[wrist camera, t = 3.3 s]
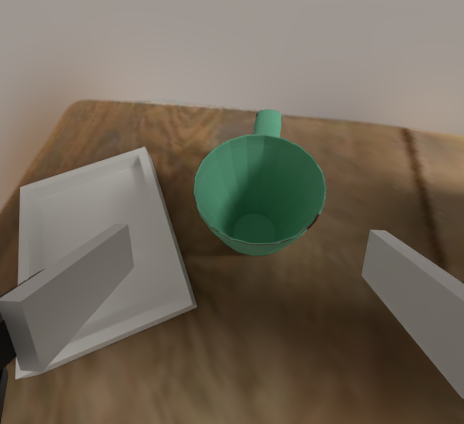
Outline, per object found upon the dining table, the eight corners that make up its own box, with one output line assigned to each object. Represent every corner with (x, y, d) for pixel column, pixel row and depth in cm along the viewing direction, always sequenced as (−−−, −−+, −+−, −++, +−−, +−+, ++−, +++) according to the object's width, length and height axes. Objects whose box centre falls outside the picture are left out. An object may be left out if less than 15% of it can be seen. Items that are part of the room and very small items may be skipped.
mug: (297, 285, 24) (328, 255, 15) (201, 270, 25) (177, 235, 16) (301, 167, 30) (325, 98, 21) (225, 160, 31) (218, 91, 23)
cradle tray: (151, 159, 32) (144, 146, 30) (197, 307, 23) (192, 304, 21) (36, 198, 30) (20, 187, 28) (39, 374, 21) (15, 379, 19)
